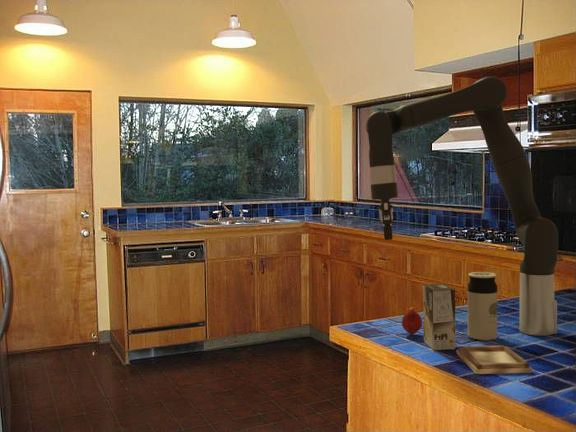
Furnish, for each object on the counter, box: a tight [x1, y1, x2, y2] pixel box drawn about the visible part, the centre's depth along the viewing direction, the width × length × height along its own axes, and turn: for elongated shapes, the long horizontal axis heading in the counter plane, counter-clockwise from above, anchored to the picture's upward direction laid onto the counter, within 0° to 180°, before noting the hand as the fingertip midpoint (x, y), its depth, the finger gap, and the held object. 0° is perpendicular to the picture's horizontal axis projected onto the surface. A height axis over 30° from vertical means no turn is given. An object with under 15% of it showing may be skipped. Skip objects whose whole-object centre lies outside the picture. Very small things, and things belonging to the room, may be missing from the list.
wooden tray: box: [456, 344, 533, 375], centre depth 150 cm, size 13×16×2 cm
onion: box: [401, 306, 423, 336], centre depth 176 cm, size 6×6×8 cm
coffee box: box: [422, 283, 456, 351], centre depth 165 cm, size 9×6×16 cm
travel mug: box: [467, 271, 498, 341], centre depth 172 cm, size 8×8×18 cm
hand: (388, 238), depth 175 cm, fingers open, 8 cm apart
